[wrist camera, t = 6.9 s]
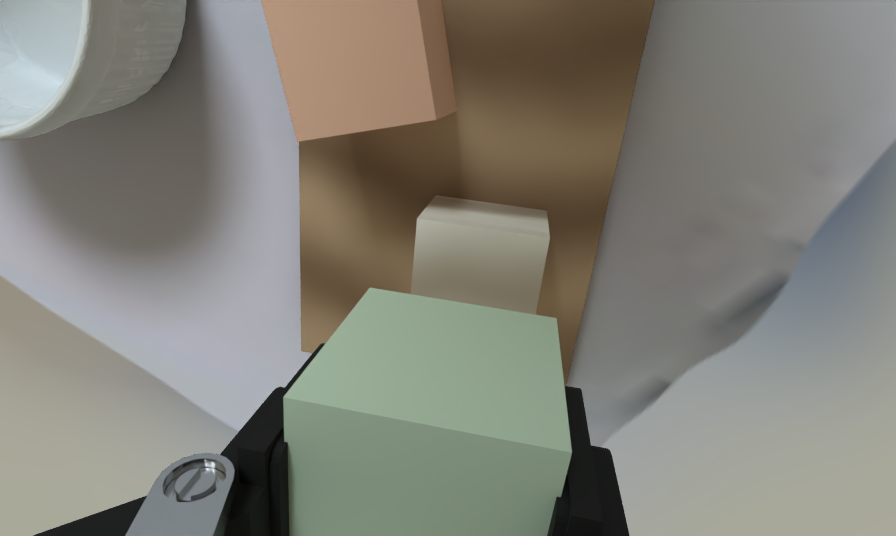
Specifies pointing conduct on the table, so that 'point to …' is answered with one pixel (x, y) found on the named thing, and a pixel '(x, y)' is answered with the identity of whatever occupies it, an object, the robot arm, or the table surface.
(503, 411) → the green block
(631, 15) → the build board
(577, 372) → the table surface
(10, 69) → the ramekin
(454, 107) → the terracotta block
